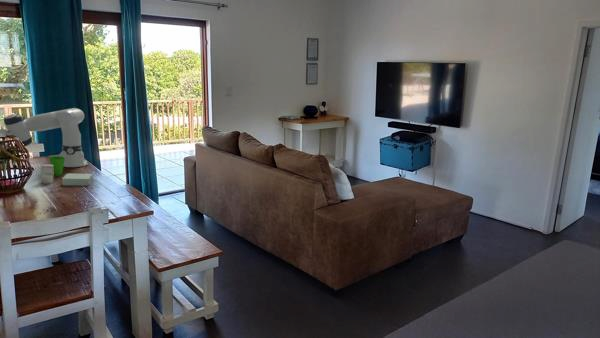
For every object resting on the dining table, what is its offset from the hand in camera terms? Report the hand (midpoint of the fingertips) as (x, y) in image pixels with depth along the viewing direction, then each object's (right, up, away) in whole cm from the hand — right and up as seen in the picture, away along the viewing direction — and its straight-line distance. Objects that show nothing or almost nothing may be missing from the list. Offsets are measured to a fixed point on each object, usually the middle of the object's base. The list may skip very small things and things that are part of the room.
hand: (22, 165), depth 248 cm
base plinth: (+27, -10, +10) cm, 30 cm away
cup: (+7, -6, +24) cm, 26 cm away
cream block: (+11, -10, +6) cm, 16 cm away
